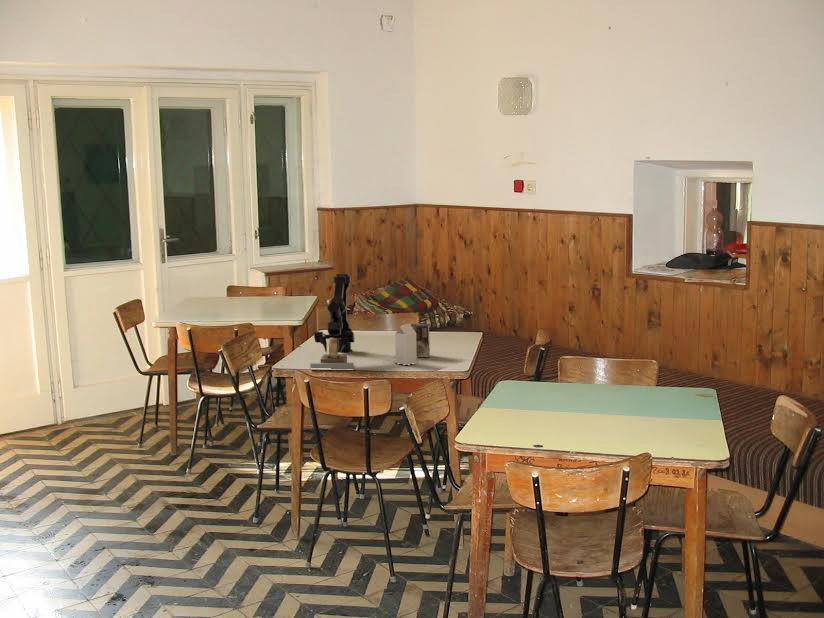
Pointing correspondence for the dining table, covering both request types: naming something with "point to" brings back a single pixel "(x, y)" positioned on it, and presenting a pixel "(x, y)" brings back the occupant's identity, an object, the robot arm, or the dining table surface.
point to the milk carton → (405, 345)
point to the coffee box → (422, 339)
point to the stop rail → (333, 365)
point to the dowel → (333, 348)
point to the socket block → (334, 359)
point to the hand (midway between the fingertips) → (333, 352)
